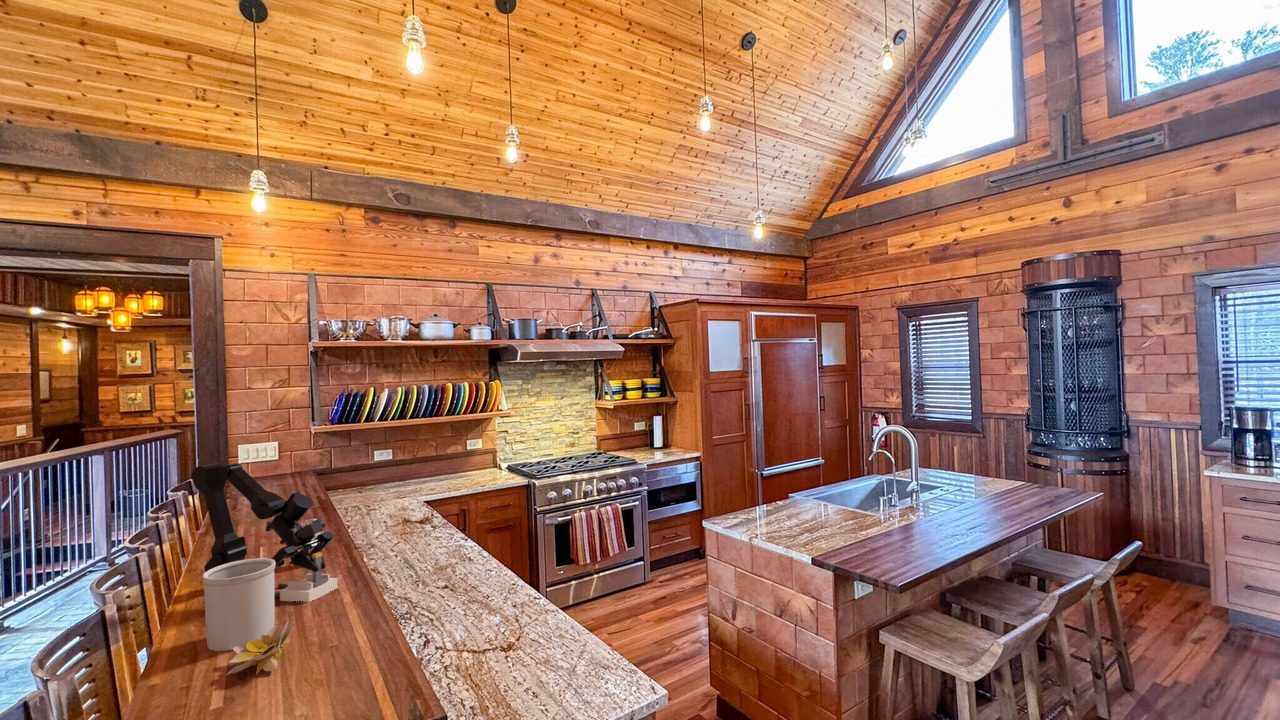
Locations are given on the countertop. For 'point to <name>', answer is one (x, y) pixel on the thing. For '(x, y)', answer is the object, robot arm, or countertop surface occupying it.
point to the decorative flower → (262, 650)
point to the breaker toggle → (318, 575)
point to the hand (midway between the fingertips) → (321, 569)
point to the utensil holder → (238, 602)
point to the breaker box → (305, 589)
